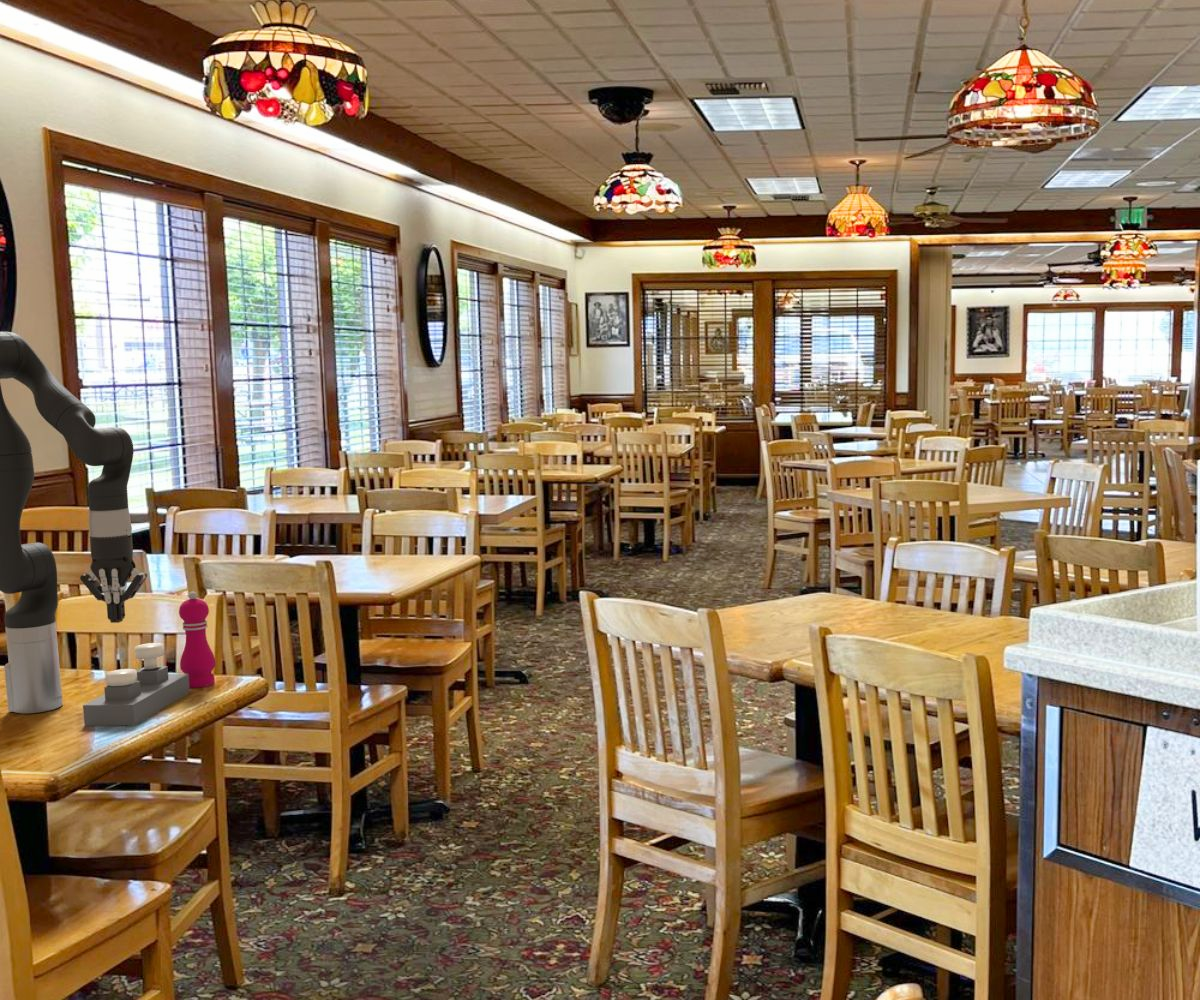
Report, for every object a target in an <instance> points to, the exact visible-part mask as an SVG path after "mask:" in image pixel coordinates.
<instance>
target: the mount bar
mask: <svg viewBox="0 0 1200 1000" xmlns="http://www.w3.org/2000/svg"><path fill="white" fill-rule="evenodd" d="M136 670H137V669H136ZM103 689H104V694H102V695H100V696H98V697H96V698H94V699H93V700H90V701H89V702H87V703H84V704H83V705H82V710H83V711H82V712H83V722H84V724H83V725H84V726H85V727H100V726H101V727H108V726H109V727H110V726H111V727H115V726H116V727H117V726H118V725H119V726H120V725H135V726H136V725H138V724H140V723H142V722H143V721H145V720H147V719H148V718H150V717H151V715H152V716H153V715H155V714H156V712H157V713H158V712H160V711H162V710H164V709H165V708H167V707H168V706H170V705H171V704H173V703H175V702H176V701H178V700H180V699H182V698H183V697H185V696H187V695H189V694H190V693H191V691H190V688H189V676H188V674H185V673H169V670H168V666H167V665H166V666H165V665H164V666H163V665H161V666H159V665H157V668H154V669H145V667H142V668H139V669H138V670H137V682H135V683H133V684H129V685H127V686H108V685H106V686H104V687H103ZM139 722H140V723H139ZM119 726H118V727H119ZM120 727H121V726H120Z"/></svg>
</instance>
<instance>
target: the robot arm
mask: <svg viewBox="0 0 1200 1000" xmlns="http://www.w3.org/2000/svg"><path fill="white" fill-rule="evenodd" d="M4 379H5V380H7V379H13V380H15V381H18V382H19V383H21V384H23V385H24V386H25V387H27V388H28V389H29V390H30V391H31V393H32V395H33V399H34V404H35V407H36V410H37V411H38V413H39V414H40V416H41V417H42V418H43V419H44V420H45V421H46V422H47V423H48V424H49V425H50V426H51V427H52V428H53V429H55V430H56V431H57V432H58V433H59V434H61V435H62V436H63V438H64V440H65V442H66V444H67V445H68V446H69V448H70V450H71V452H72V453H73V455H74V456H75V457H76V459H77V460H79V461H80V462H81V463H83V464H84V465H88V466H90V467H100V466H101V467H102V466H103V467H102V470H101V474H100V475H99V476H98V477H96V478H95V479H94V478H93V479H92V480H90V482H89V483H88V486H87V496H88V497H87V498H88V510H89V511H88V512H89V513H88V531H89V532H88V533H89V544H90V545H89V547H90V557H91V559H92V561H91V564H90V567H89V569H90V570H89V571H87V572H86V573H85V574H82V575H80V576H79V578H80V579H79V580H80V581H81V582H82V583H83V585H84V586H85V587H86V588H87V589H88V590H89V592H90V593H91V594H92V595H93V597H94V598H95V599H96V600H97V601H102V602H104V603H105V604H106V612H107V613H106V614H107V619H108V621H110V624H117V623H118V624H119V623H122V622H123V621H124V619H125V618H126V610H125V608H126V607H125V602H126V601H128V600H129V599H133V598H134V597H135V595H136V594H137V592H138V591H139V590H140V589H141V587H142V585H143V584H144V582H145V581H146V579H147V578H148V574H147V573H146V572H141V571H140V570H139V569H137V568H136V563H135V560H134V559H133V558H134V557H133V556H134V550H133V549H134V547H133V532H132V529H133V527H132V523H131V522H132V521H131V515H130V511H129V510H130V509H129V499H128V497H129V496H128V484H129V481H130V480H129V479H130V476H131V475H130V474H131V471H132V470H131V468H132V465H133V458H134V450H135V449H134V443H133V440H132V437H131V435H130V434H129V432H127V430H125V429H124V428H122V427H115V426H114V427H103V428H102V427H100V428H99V427H98V428H95V427H96V421H97V420H96V416H95V414H94V413H93V411H92V410H91V409H90V408H89V407H88V406H87V405H86V404H85V403H83V402H82V401H81V400H80V399H78V397H76V396H75V395H73V393H72V392H70V391H69V390H68V389H67V387H65V386H64V385H63V384H62V383H61V381H59V380H58V379H57V377H56V376H55V375H54V374H53V373H52V371H51V370H50V369H49V367H48V366H47V365H46V364H45V362H44V361H42V359H41V357H39V355H38V354H37V353H36V352H35V350H34V349H33V348H32V346H31V345H30V344H29V342H27V341H26V340H25V339H24V338H23V337H22V336H20V335H19V334H17V333H15V332H11V331H0V380H4ZM5 402H6V401H5V400H4V395H3V391H2V385H1V383H0V592H2V593H3V594H7V595H12V594H17V593H18V594H19V593H20V597H19V598H18V601H17V602H16V603H15V604H14V605H13V606H12V607H10V608H9V609H7V611H5V613H4V626H5V629H4V630H5V637H6V649H7V658H8V662H7V663H5V665H4V668H3V669H4V678H5V686H6V687H5V689H6V700H7V701H6V702H7V711H8V712H10V713H11V712H13V713H16V714H36V713H37V714H38V713H44V712H49V711H52V710H56V709H58V708H60V707H62V706H63V692H62V691H63V690H62V680H61V678H62V677H61V670H60V658H59V657H60V656H59V647H58V646H59V645H58V635H57V624H56V612H57V609H58V605H59V604H58V603H59V599H58V598H59V597H58V596H59V595H58V568H57V562H56V559H55V555H54V553H53V552H52V549H51V548H50V547H49V546H48V545H46V544H45V543H42V542H38V541H37V542H29V543H23V544H22V540H21V518H22V514H23V511H24V508H25V506H26V504H27V502H28V501H27V500H28V499H29V497H30V494H31V491H32V487H33V484H34V480H35V469H34V459H33V453H32V452H33V451H32V446H31V443H30V440H29V439H28V436H27V434H26V433H25V432H24V430H23V429H22V427H21V425H20V424H19V423H18V422H17V420H16V419H15V418H14V416H13V414H11V412H10V410H9V409H8V406H7V405H6V403H5ZM129 580H131V582H130V584H129V585H128V581H129Z"/></svg>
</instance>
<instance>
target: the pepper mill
mask: <svg viewBox="0 0 1200 1000" xmlns="http://www.w3.org/2000/svg"><path fill="white" fill-rule="evenodd" d="M187 597H188V599H186V600H184V601H183V602H182V603H181V604H180V606H179V610H178V615H179V617H180V619H182V621H183V623H181V624H182V629H183V631H184V633H185V644H184V649H183V651H182V654H181V656H180V661H179V664H180V665H179V669H180V671H182V674H188V676H189V689H191V688H192V689H193V688H195V689H196V688H198V689H199V688H204V687H210V686H212V685H214V684H215V681H216V680H215V674H214V673H212V672H213V671H214V669H215V668H216V664H217V663H216V657H215V655H214V652H213V650H212V649H211V646H210V645H209V643H208V639H207V634H206V631H207V630H206V629H207V628H208V624H207V623H208V620H206V618H207V617H208V615H209V613H210V611H209V610H210V609H209V605H208V603H207V601H205V600H203V599H200V598H198V594H197V592H195V591H190V592H189V593H188V596H187Z"/></svg>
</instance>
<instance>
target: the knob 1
mask: <svg viewBox="0 0 1200 1000" xmlns="http://www.w3.org/2000/svg"><path fill="white" fill-rule="evenodd" d="M135 682H137V669H134V668H121V669H115V670H110V671H107V672H106V673H105V683H106V686H127V685H129V684H133V683H135Z"/></svg>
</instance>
